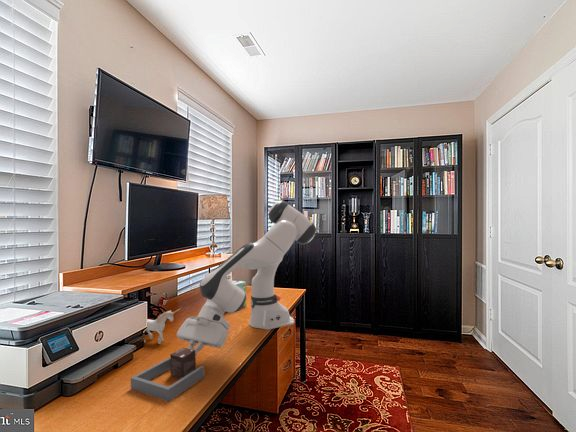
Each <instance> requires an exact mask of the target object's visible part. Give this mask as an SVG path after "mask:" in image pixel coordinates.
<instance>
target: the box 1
mask: <svg viewBox="0 0 576 432" xmlns="http://www.w3.org/2000/svg"><path fill="white" fill-rule="evenodd" d="M170 358H171V357H167V358H165V359H163V360H162V361H160V362H158V363H155V365H152V366H150V367H148V368H147V369H145V370H143V371H141V372H139V373H137V374H135V375H134V376H132V377H130V389H131V390H132V391H137V392H139V393H141V394H145V395H147V396H150V397H154V398H157V399H160V400H162V401H165V402H169V403H170V402H171V401H172V400H173V399H175V398H177V396H179V395H180V394H182V393H183V392H185V391H186V390H188V389H189V388H191V387H192V386H194V385H195V384H196V383H198V382H199V381H201V380H202V379H204V378H205V366H204V365H200V366H199V367H196V370H194V371H192V372H191V373H189V374H188V375H186V376H185V377H183V378H179V380H177V381H175V382H173V383H172V384H171V385H169V386H167V385H164V384H162V383H157V382H154V381H152V380H153V379H155V378H156V377H158V376H160V375H161V374H164V373H165V372H167V371H169V370H171V359H170Z"/></svg>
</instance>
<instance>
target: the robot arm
mask: <svg viewBox="0 0 576 432" xmlns="http://www.w3.org/2000/svg"><path fill="white" fill-rule="evenodd" d="M267 216H268V219H269V221H270V222H269V223H270V224H271V225H272V224H273V225H272V227H270V229H268V231H266V233H265V234H264V235H263V236H262V237H261V238H260V239H258V240H257V241H255V242H247V243H246V244H244V245H242V246H241V247H239V248H238V249H237V250H236V251H234V253H232V254H231V255H230V256H229V257H227V259H225V260H224V261H222V263H221V264H219V265H218V266H217V267H216V268H215V269H213V270H211V271H210V272H208V273H207V274H206V275H205V276H204V277H203V278H202V279H201V280H200V282H199V292H200V294H201V296H202V297H203V298H205V299H206V301H205V303H204V304H203V305H202V307H201V309H200V311H199V313H198V315H197V316H192V315H191V316H189V317H187V318H186V319H185V320H184V322H183V323H182V324H181V326H180V327H179V329H178V330H177V332H176V337H177V338H178V339H179V340H181V341H185V342H188V349H192V350H195V357H197V355H198V353H199V352H200V351H201V350H202V349H204V346H208V347H213V348H218V349H220V348H222V347H223V346H224V344H225V342H226V339H227V337H228V335H229V334H228V333H229V331H228V330H229V329H230V328H231V324H230V322H228V320H227V319H226V318H224V314H225V313H224V312H227V313H229V314H230V313H232V314H234V313H237V312H239V311H241V309H243V308H244V307H243V305H244V303H245V300H246V301H247V293H246V294H245V292H244V291H243V290H242V289H241V288H239V287H238V286H237V285H235V284H233V281H232V280H229V279H228V278H227V277H228V276H229V275H230V274H231V273H232V272H234V270H236V269H237V268H238V267H240V265H241V268H243V269H245V270H257V272H256V274H255V275H254V276H253V277H252V279H251V295H250V308H251V311H250V312H251V313H250V317H249V324H248V325H249V326H250V327H252V328H256V329H263V330H265V331H266V330H273V329H277V328H280V327H281V328H282V327H286V326H290V325H294V324H295V319H294V318H293V317H292V316H291V315H290V312H289V310H288V308H287V307H286V306H285V305H283V304H282V303H280V302H279V301H280V300H281V297H280V296H279V295H277V294H275V290H274V289H275V288H274V286H275V276H276V272H277V269H278V267H279V265H280V263H281V262H283V259H284V256H285V255H286V254H287V252H288V251H289V250H290V248H291V247H292V245H293V244H294V242H296V243H297V244H299V245H302V246H303V245H307V244H308V243H310V242H311V241H312V240H313V239H314V238H315V236H316V233H317V227H316V225H315V224H314V223H313V222H311V220H310V219H309V218H308V217H307V216H305V214H303V213H302V212H300V211H299V210H297V209H296V208H295V207H294V206H292V205H290V204H289V203H288V202H287V201H285V200H282V199H281V200H279V201H277V202H275V203H274V204H272V205H271V207H270V209H269V212H268V214H267ZM196 345H197V346H196ZM194 347H195V348H194Z"/></svg>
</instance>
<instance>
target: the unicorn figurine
mask: <svg viewBox="0 0 576 432" xmlns="http://www.w3.org/2000/svg"><path fill="white" fill-rule="evenodd" d="M181 309H182V307H180V308H179V309H176V310H175V311H172V310H171V309H170V310H168V311H163V313H161V314H160V315H159V316H157V318H156V319H149V318H147V328H146V329H145V330H144V331H143V333H144V334H145V332H146V333H148V337H149V339H150V341H151V340H152V341H153V337H154V336H153V333H152V332H157V333H158V334H159V335H158V336H157V338H158V339H157V344H158V345H160V344H161V343H162V342H164V341H165V340H164V333H163V331H164V329H165V326H166V324H165V323H166V321H167V319H168V320H169V322H173V321H174V314H175V313H177V312H179V311H180V310H181ZM145 343H147V341H146V339H144V343H143V344H145Z"/></svg>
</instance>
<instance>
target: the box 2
mask: <svg viewBox="0 0 576 432" xmlns="http://www.w3.org/2000/svg"><path fill="white" fill-rule="evenodd" d="M169 355H170V357H169V358H170V359H171V369H170V375H171V376H173V377H177V378H179V379H181V378H183V377H185V376H186V375H188V374H189V373H191V372H192V371H194V370H196V369H197V367H196V366H197V365H196V364H197V363H196V360H197V359H196V356H195V350H192V349H189V347H188V348H186V347H181V348H180V349H178V350H175V351H174V352H172V353H170V354H169Z"/></svg>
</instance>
